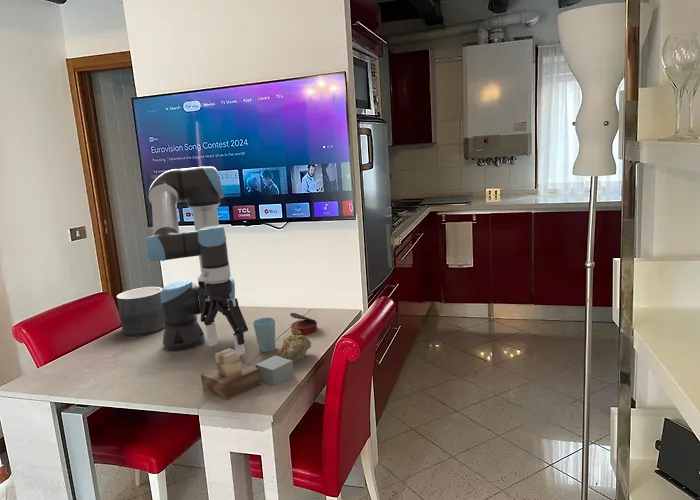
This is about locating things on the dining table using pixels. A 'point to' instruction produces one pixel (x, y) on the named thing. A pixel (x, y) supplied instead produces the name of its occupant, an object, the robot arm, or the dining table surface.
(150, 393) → the dining table surface
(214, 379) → the walnut pedestal
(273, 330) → the cup
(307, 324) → the canned food
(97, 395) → the dining table surface
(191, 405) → the dining table surface
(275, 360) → the slate block
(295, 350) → the rock
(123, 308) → the planter
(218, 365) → the oak block
